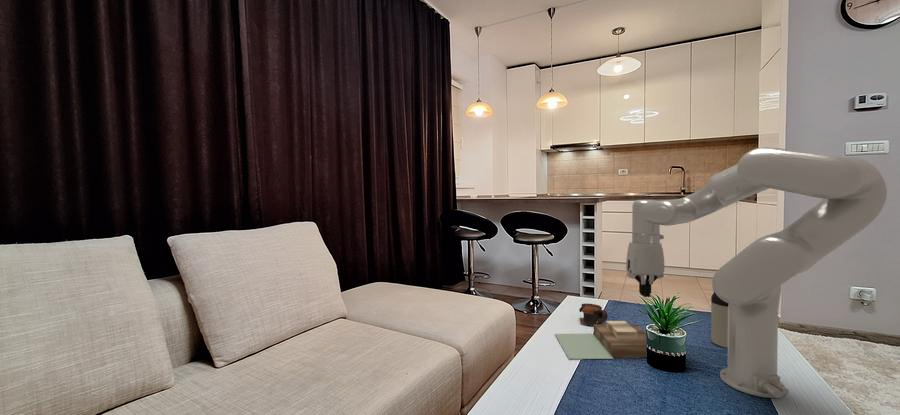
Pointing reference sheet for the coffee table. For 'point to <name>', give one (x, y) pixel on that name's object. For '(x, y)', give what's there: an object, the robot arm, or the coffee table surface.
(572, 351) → the rubber mat
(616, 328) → the maple tile
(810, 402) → the coffee table surface
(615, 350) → the walnut board
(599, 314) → the pottery mug
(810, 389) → the coffee table surface
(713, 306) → the beige canister
